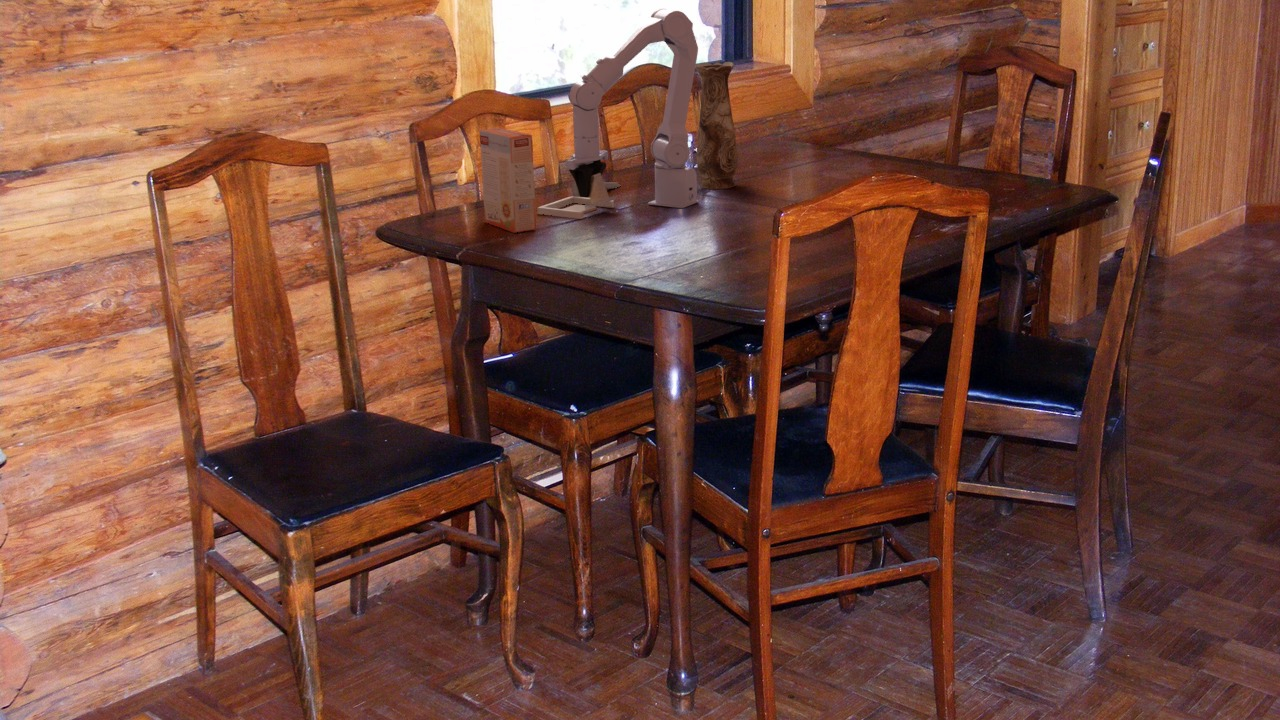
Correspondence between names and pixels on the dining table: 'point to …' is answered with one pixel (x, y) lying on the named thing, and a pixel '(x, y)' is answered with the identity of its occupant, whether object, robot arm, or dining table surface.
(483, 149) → the cracker box
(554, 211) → the frame
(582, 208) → the tile
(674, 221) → the dining table surface
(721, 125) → the vase
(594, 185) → the scraper
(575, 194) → the caliper
